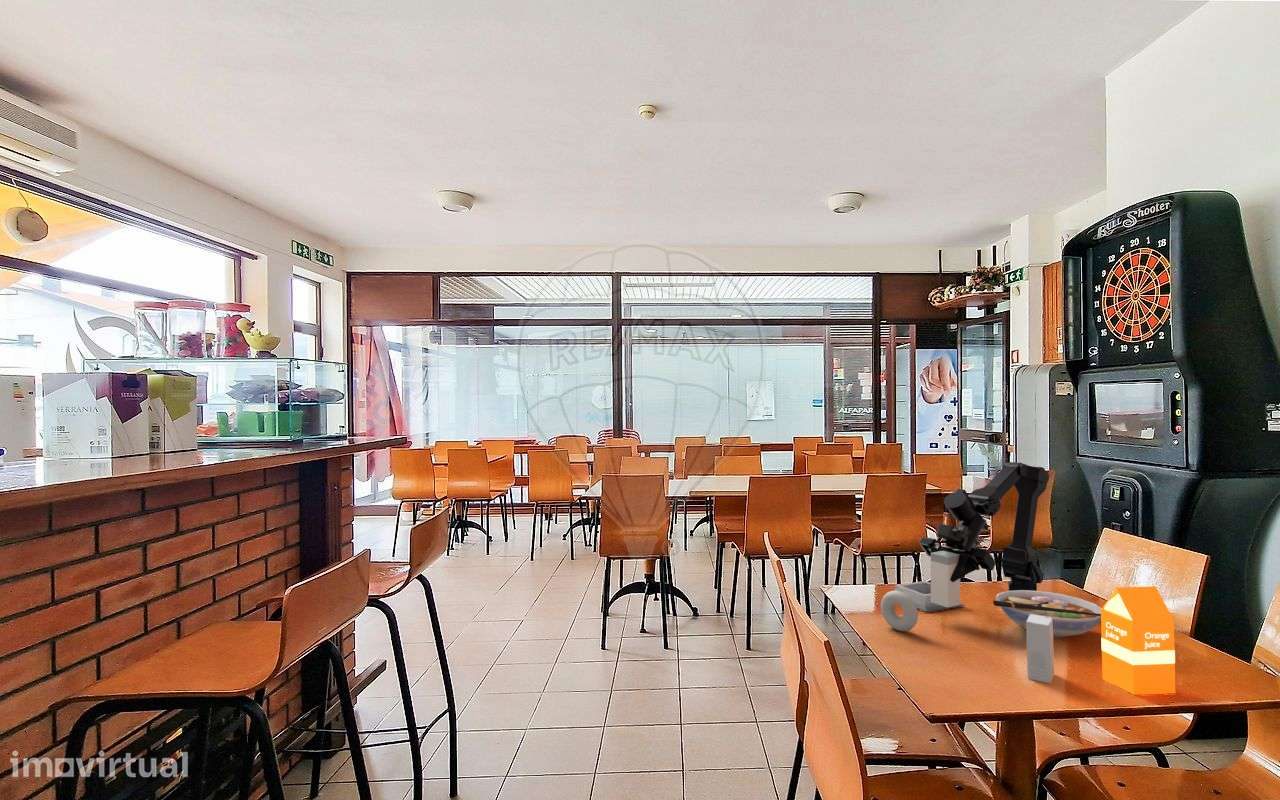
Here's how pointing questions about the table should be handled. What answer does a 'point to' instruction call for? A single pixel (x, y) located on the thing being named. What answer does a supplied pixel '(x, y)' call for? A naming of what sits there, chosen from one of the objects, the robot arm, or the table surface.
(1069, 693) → the table surface
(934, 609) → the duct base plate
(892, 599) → the donut
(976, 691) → the table surface
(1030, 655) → the skincare box
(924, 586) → the metal collar
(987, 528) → the robot arm
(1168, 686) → the orange juice
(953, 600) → the gray square block
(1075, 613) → the ramen bowl
